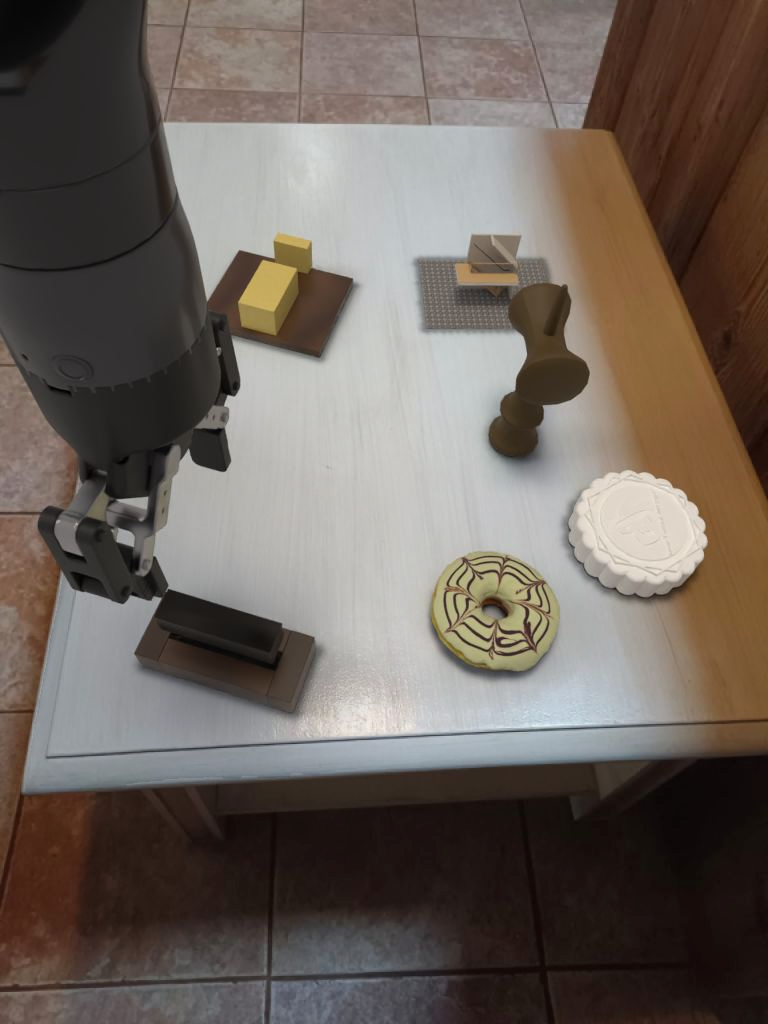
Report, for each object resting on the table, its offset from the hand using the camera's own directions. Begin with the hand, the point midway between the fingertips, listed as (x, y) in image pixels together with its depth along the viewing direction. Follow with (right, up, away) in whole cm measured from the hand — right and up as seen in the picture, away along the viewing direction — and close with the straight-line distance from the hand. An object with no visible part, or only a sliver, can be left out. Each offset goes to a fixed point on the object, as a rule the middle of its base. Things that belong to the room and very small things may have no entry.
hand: (182, 523), depth 41 cm
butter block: (-1, +23, +39) cm, 45 cm away
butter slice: (+1, +29, +42) cm, 51 cm away
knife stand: (-1, -11, +19) cm, 22 cm away
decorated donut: (+21, -9, +22) cm, 32 cm away
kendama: (+24, +8, +33) cm, 41 cm away
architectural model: (+23, +26, +43) cm, 56 cm away
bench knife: (-1, -12, +19) cm, 22 cm away
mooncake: (+35, -2, +27) cm, 44 cm away
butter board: (0, +24, +40) cm, 47 cm away
